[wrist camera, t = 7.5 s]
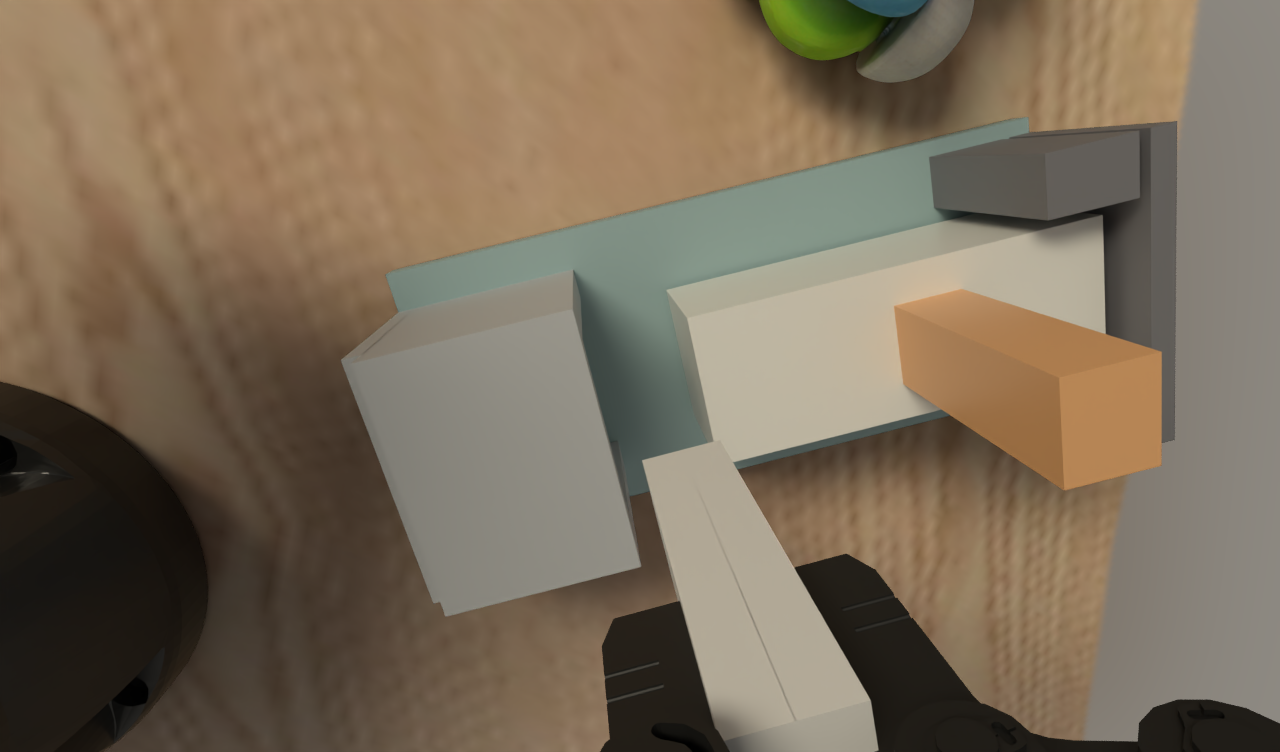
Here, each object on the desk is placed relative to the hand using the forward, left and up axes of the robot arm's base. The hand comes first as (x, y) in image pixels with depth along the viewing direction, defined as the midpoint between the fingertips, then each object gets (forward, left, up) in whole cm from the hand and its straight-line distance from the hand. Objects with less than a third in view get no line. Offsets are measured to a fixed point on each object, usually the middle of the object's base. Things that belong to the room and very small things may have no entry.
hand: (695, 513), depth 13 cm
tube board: (+4, 0, -13) cm, 13 cm away
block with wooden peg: (+7, 0, -12) cm, 14 cm away
